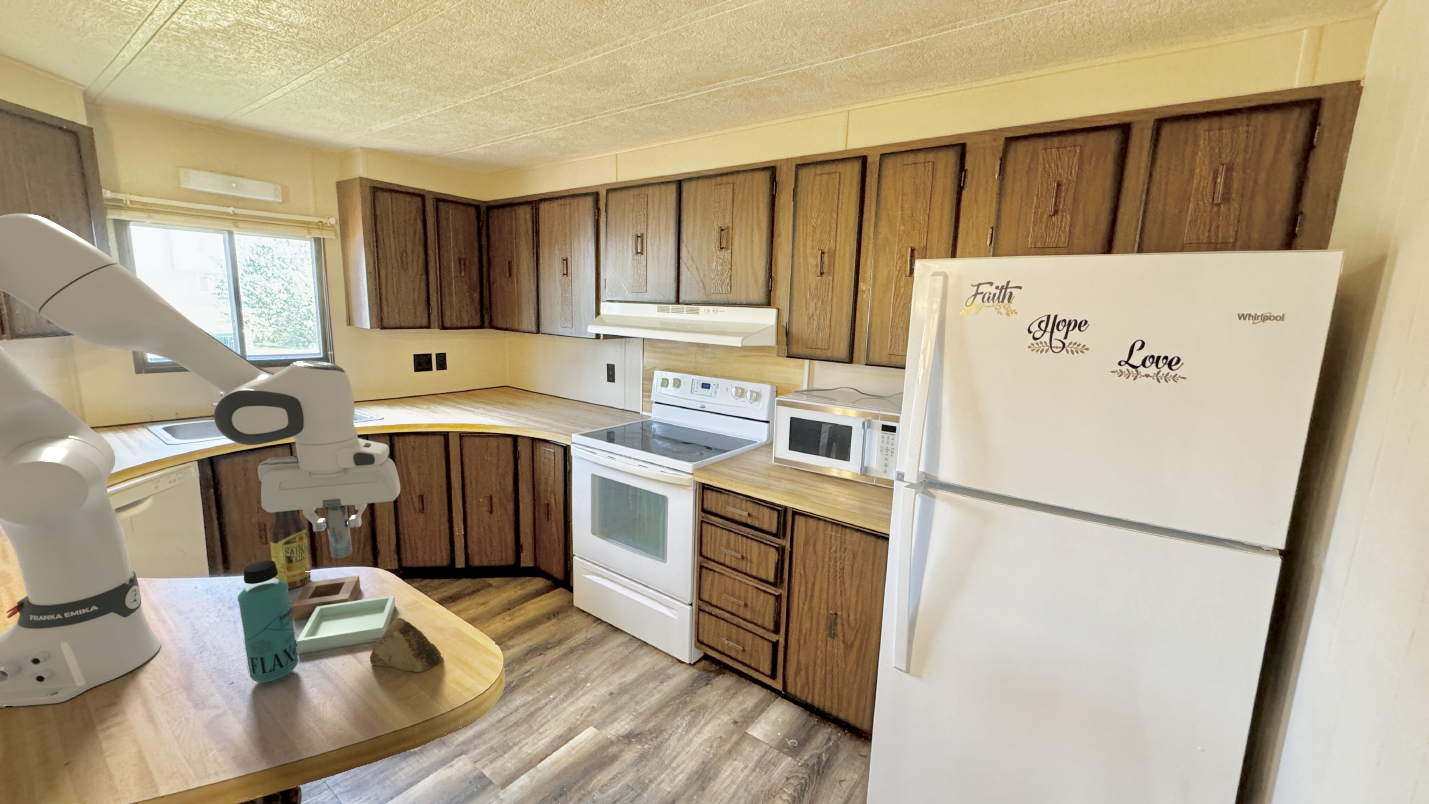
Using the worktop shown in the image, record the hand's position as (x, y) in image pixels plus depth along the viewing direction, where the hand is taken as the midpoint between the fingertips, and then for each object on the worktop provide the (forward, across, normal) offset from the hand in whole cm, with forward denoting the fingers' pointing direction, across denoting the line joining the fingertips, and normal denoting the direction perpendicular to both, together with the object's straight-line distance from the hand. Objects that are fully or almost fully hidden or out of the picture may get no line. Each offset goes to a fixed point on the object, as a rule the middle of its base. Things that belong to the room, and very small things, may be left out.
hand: (338, 527), depth 98 cm
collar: (+20, -6, +10) cm, 24 cm away
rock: (+20, +11, -14) cm, 27 cm away
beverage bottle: (+20, -8, -11) cm, 24 cm away
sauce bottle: (+20, -15, +21) cm, 33 cm away
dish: (+20, 0, 0) cm, 20 cm away
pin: (+5, 0, 0) cm, 5 cm away
